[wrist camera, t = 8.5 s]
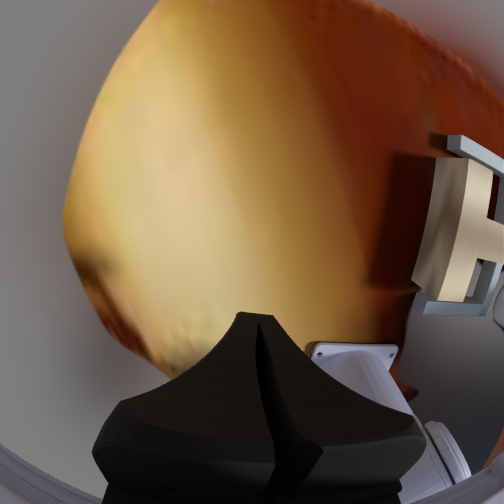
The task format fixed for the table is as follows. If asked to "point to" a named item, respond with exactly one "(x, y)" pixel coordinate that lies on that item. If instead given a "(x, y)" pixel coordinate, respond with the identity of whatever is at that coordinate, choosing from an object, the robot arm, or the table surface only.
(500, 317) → the drinking glass
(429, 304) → the bracket
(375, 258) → the table surface
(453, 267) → the t block
